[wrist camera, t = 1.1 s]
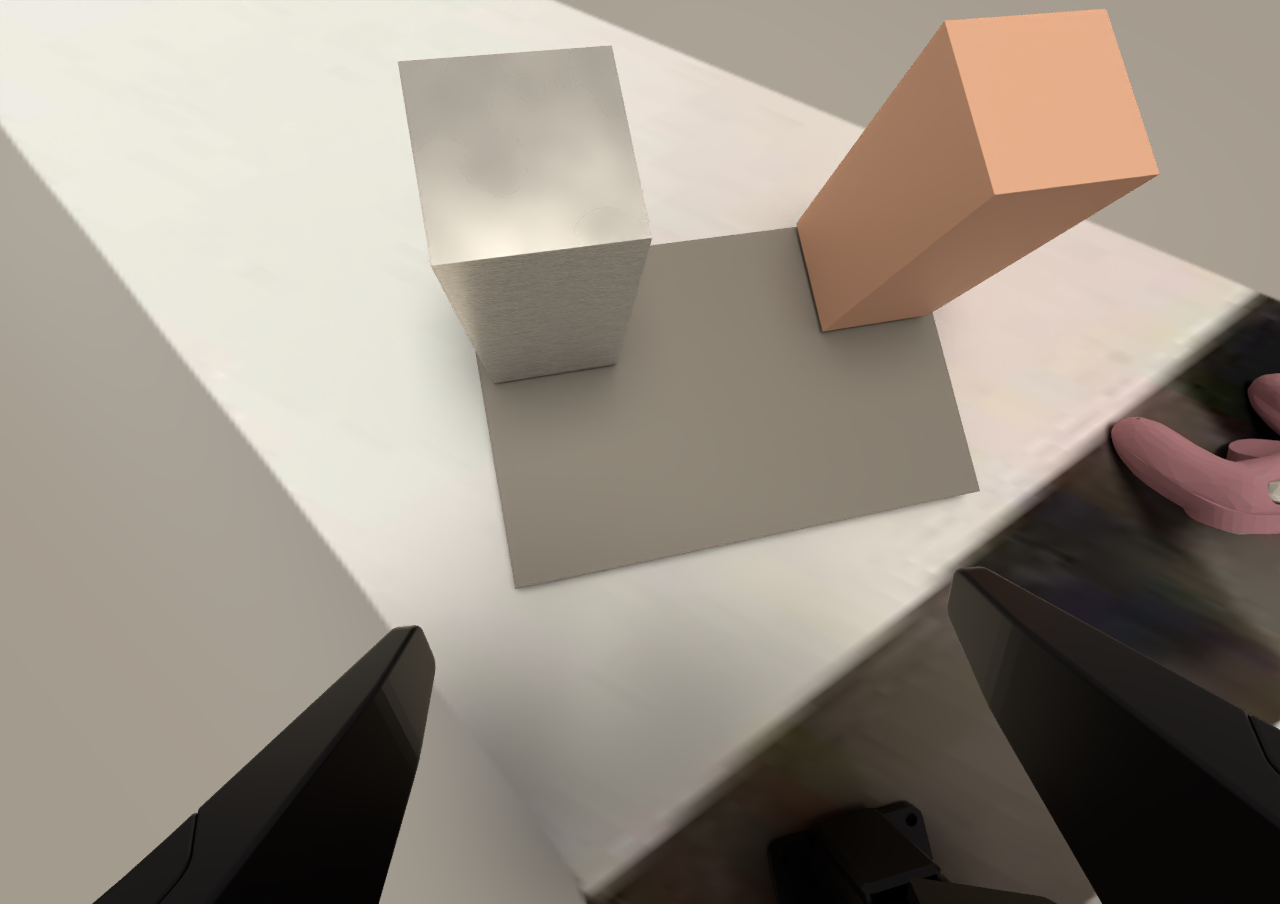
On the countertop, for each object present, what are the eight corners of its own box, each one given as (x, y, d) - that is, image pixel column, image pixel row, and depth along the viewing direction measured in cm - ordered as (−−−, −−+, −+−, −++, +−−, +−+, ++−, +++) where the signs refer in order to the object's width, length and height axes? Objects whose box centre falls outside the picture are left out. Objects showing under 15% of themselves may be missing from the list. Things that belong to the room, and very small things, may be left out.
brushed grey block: (617, 363, 23) (652, 237, 13) (493, 383, 22) (430, 265, 12) (594, 249, 23) (611, 45, 14) (473, 264, 23) (397, 61, 13)
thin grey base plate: (960, 492, 26) (979, 491, 24) (518, 586, 23) (515, 588, 21) (891, 227, 27) (905, 213, 26) (467, 282, 24) (461, 269, 23)
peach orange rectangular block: (927, 315, 25) (1159, 174, 15) (822, 331, 24) (994, 194, 14) (899, 210, 25) (1106, 8, 16) (796, 223, 25) (944, 21, 15)
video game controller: (1093, 501, 28) (1271, 572, 22) (1101, 416, 26) (1296, 464, 20) (1248, 450, 30) (1458, 501, 23) (1265, 365, 28) (1496, 395, 22)
